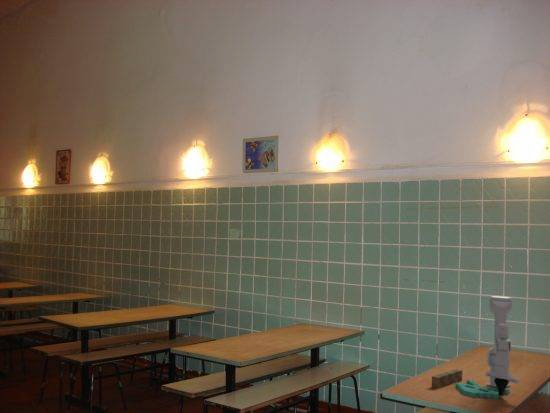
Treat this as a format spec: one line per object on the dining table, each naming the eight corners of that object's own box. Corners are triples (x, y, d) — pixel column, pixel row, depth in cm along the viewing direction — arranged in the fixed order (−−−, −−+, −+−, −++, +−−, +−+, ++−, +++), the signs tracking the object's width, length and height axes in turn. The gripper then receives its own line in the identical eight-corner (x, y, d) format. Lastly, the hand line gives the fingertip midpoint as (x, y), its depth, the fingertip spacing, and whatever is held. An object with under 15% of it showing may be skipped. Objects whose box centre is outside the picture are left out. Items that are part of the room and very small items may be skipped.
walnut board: (456, 378, 282) (456, 368, 282) (462, 380, 280) (462, 370, 280) (431, 386, 265) (431, 376, 265) (437, 388, 263) (437, 377, 263)
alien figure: (468, 383, 275) (448, 391, 261) (469, 379, 275) (448, 386, 261) (509, 394, 260) (489, 402, 247) (509, 389, 261) (489, 397, 247)
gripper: (482, 363, 256) (481, 393, 255) (514, 370, 245) (513, 401, 245) (489, 361, 261) (488, 390, 260) (520, 367, 250) (520, 398, 250)
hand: (501, 395), depth 253 cm, fingers closed
